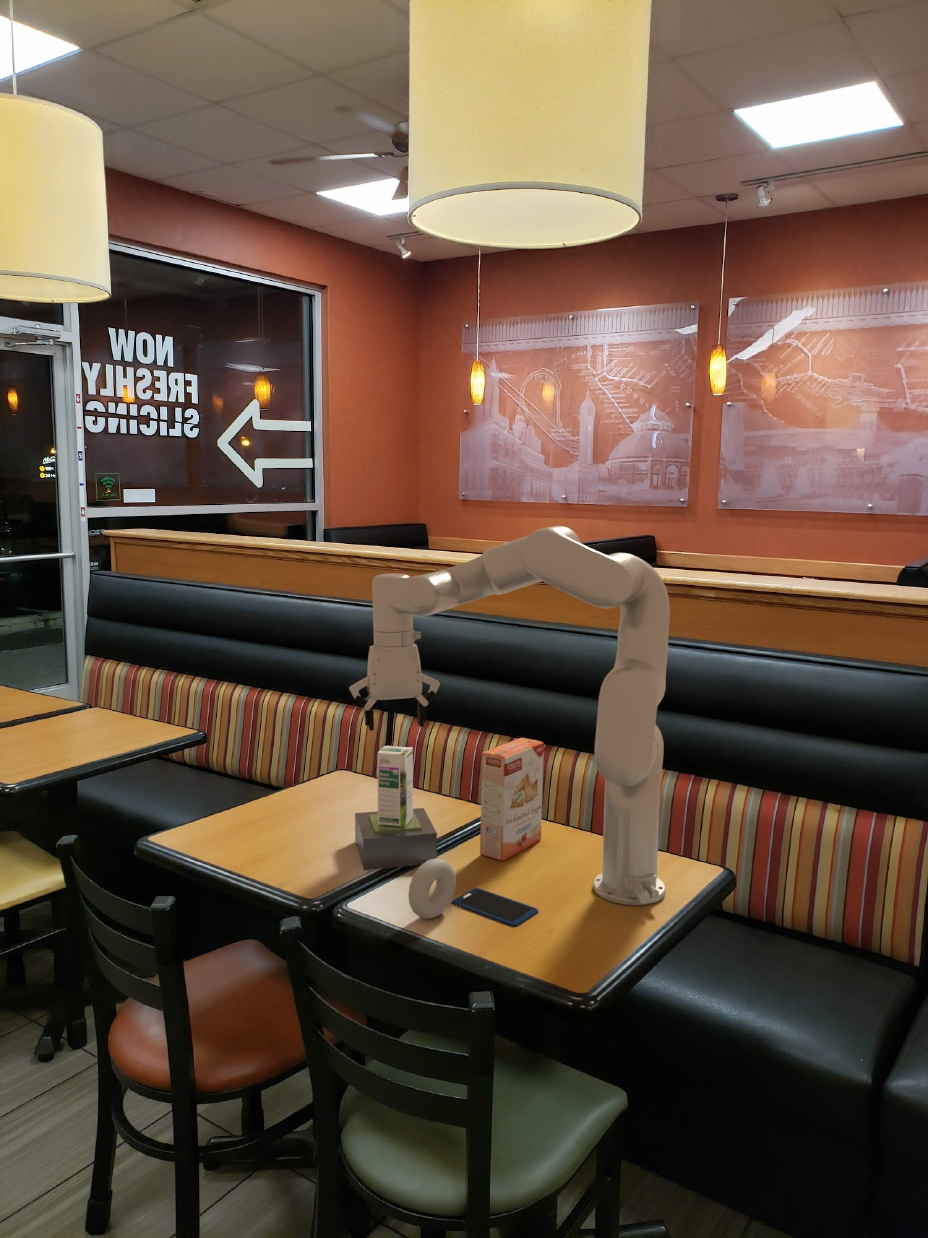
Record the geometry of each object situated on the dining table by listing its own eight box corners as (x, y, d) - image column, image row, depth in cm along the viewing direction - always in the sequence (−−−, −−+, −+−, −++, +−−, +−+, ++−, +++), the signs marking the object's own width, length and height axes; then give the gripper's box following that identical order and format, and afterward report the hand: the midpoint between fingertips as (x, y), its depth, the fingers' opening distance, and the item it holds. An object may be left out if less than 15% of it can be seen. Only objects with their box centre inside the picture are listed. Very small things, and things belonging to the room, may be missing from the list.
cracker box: (504, 863, 173) (505, 757, 170) (478, 855, 176) (479, 751, 173) (543, 840, 184) (545, 740, 181) (518, 833, 187) (520, 735, 184)
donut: (419, 931, 146) (419, 872, 145) (404, 924, 149) (403, 866, 147) (460, 909, 154) (460, 853, 152) (445, 903, 156) (445, 848, 155)
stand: (437, 863, 173) (437, 831, 172) (363, 870, 169) (363, 837, 168) (423, 835, 186) (423, 806, 185) (355, 841, 183) (354, 811, 182)
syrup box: (376, 825, 174) (376, 752, 172) (386, 814, 180) (385, 744, 178) (405, 828, 173) (404, 754, 171) (413, 817, 179) (413, 745, 177)
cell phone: (475, 891, 162) (475, 887, 162) (540, 913, 153) (540, 909, 153) (449, 905, 156) (449, 901, 156) (515, 930, 148) (515, 925, 147)
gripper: (434, 633, 177) (436, 719, 179) (345, 638, 173) (348, 725, 176) (442, 639, 170) (444, 728, 172) (350, 644, 166) (353, 735, 168)
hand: (396, 727), depth 174 cm, fingers open, 9 cm apart
